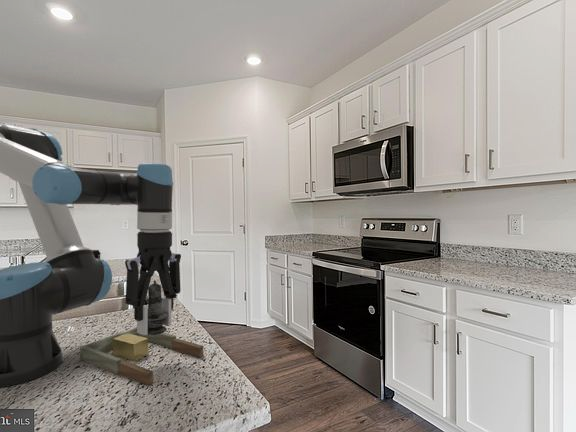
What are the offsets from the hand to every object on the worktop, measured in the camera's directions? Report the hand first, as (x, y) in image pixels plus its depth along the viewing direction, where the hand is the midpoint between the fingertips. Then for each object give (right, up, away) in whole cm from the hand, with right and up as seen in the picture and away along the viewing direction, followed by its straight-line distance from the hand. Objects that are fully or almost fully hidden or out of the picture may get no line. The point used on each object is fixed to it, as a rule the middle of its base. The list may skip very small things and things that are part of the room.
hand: (154, 328), depth 76 cm
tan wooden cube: (-6, -8, +4) cm, 11 cm away
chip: (-10, -8, +6) cm, 14 cm away
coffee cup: (-84, -7, +115) cm, 142 cm away
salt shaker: (0, -1, 0) cm, 1 cm away
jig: (-4, -8, +3) cm, 9 cm away
